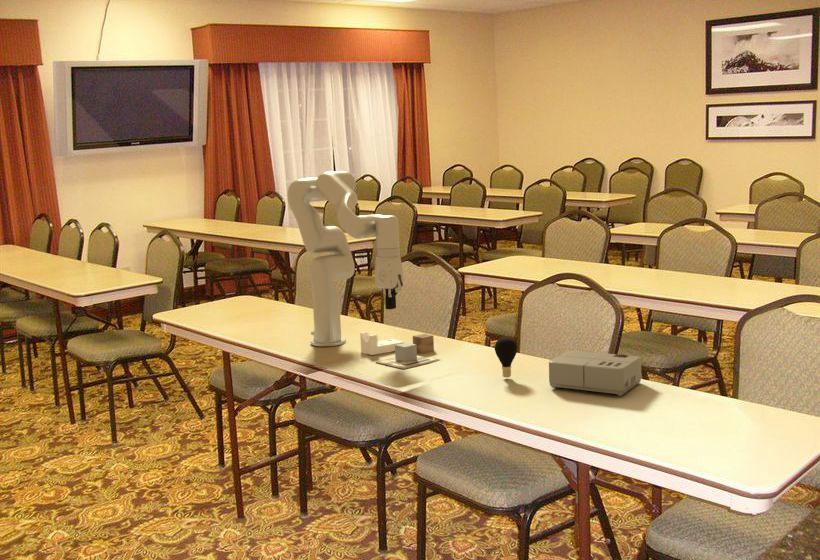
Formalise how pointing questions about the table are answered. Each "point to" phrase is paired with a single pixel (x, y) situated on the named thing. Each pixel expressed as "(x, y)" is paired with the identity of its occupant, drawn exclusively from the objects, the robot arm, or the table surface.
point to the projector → (595, 372)
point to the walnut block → (424, 343)
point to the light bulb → (506, 353)
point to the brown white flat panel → (405, 365)
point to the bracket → (376, 344)
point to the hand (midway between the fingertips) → (390, 308)
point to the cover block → (405, 352)
